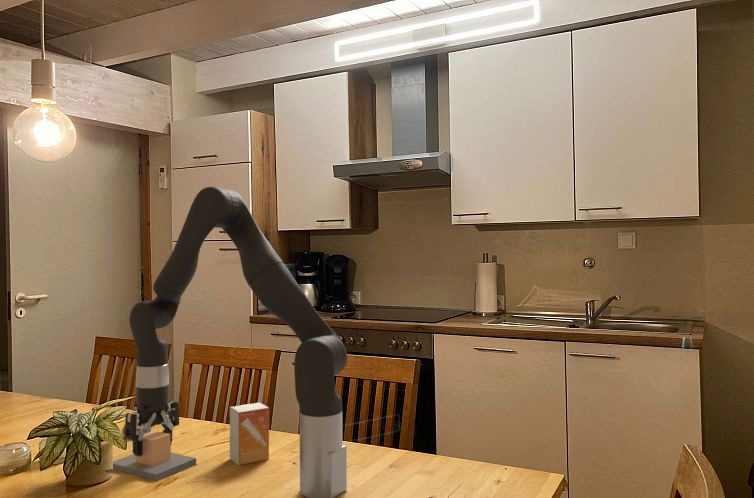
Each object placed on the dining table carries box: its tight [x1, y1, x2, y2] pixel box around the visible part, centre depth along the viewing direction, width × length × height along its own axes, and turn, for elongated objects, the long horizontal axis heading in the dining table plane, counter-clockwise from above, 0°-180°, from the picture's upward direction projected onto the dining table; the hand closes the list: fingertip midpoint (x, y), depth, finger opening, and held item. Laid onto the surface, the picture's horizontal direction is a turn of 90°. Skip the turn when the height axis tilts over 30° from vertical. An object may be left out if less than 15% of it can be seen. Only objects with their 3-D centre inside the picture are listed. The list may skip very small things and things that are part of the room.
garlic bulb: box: [121, 406, 152, 436], centre depth 172 cm, size 8×7×8 cm
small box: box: [229, 401, 270, 466], centre depth 152 cm, size 8×6×13 cm
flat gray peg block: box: [112, 452, 197, 482], centre depth 147 cm, size 16×12×6 cm
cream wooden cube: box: [136, 430, 172, 466], centre depth 147 cm, size 6×6×6 cm
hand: (153, 450), depth 147 cm, fingers open, 8 cm apart
